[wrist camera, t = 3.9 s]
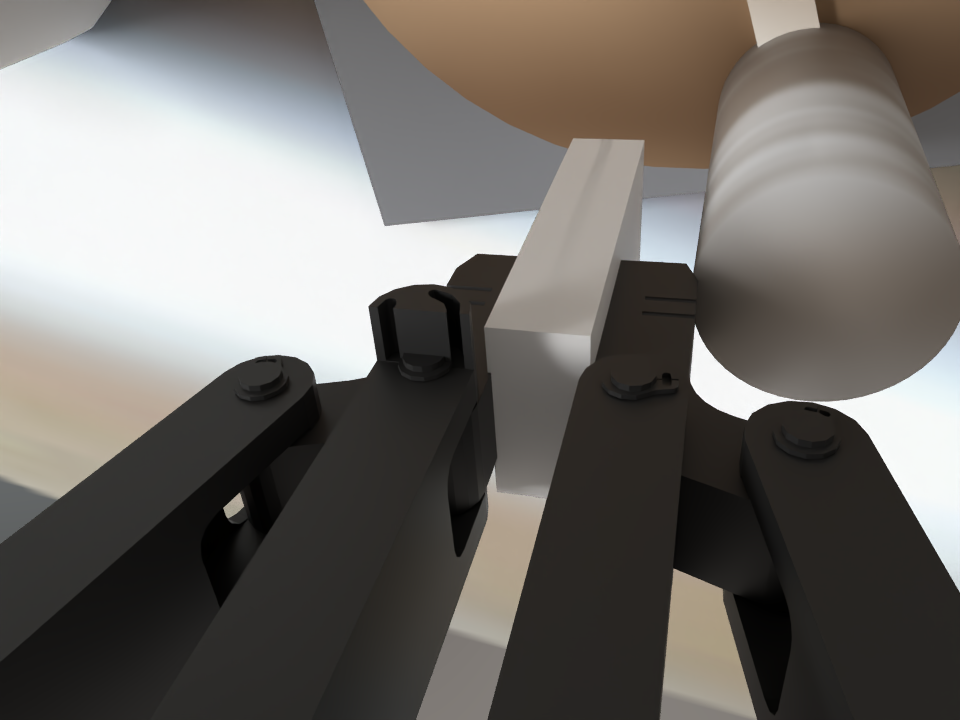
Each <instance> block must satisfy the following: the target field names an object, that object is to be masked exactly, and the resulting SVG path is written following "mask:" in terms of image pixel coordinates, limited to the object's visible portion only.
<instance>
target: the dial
mask: <svg viewBox="0 0 960 720" xmlns="http://www.w3.org/2000/svg"><path fill="white" fill-rule="evenodd" d="M363 1H364V2H365V3H366V4H367V6H368V7H369V8H370V9H371V11H372V12H373V13H374V14H375V15H376V17H377V18H378V19H379V20H380V22H381V23H382V24H383V25H384V27H385V28H386V29H387V30H388V31H389V32H390V33H391V34H392V35H393V36H394V37H395V38H396V39H397V40H398V41H399V42H400V43H401V44H402V45H403V46H404V47H405V48H406V49H407V50H408V51H409V52H410V53H411V54H412V55H413V56H414V57H415V58H416V59H417V60H418V61H419V62H420V63H421V64H422V65H423V66H424V67H425V68H427V69H428V70H429V71H430V72H432V73H433V74H434V75H436V76H437V77H438V78H440V79H441V80H442V81H443V82H445V83H446V84H447V85H449V86H450V87H451V88H452V89H454V90H455V91H456V92H458V93H459V94H460V95H462V96H463V97H464V98H465V99H467V100H469V101H470V102H472V103H474V104H475V105H477V106H479V107H480V108H482V109H484V110H485V111H487V112H489V113H490V114H492V115H494V116H495V117H497V118H499V119H501V120H502V121H504V122H506V123H507V124H509V125H511V126H513V127H516V128H518V129H520V130H523V131H525V132H527V133H529V134H532V135H534V136H536V137H539V138H541V139H543V140H545V141H548V142H550V143H552V144H555V145H558V146H561V147H565V148H569V146H570V144H571V142H572V140H573V138H580V139H619V140H645V142H644V166H650V167H669V168H694V169H709V172H708V178H707V185H706V192H705V198H704V205H703V212H702V219H701V225H700V232H699V239H698V246H697V252H696V259H695V266H694V273H693V274H694V275H695V277H696V278H697V280H698V292H697V304H696V316H695V325H696V327H697V330H698V332H699V335H700V337H701V339H702V340H703V342H704V344H705V345H706V347H707V349H708V350H709V351H710V353H711V354H712V355H713V356H714V358H715V359H716V360H717V361H718V362H719V363H720V364H721V365H722V366H723V367H724V368H725V369H727V370H728V371H729V372H730V373H732V374H733V375H734V376H736V377H737V378H739V379H740V380H742V381H744V382H746V383H747V384H749V385H751V386H753V387H755V388H758V389H760V390H762V391H764V392H767V393H771V394H774V395H777V396H780V397H785V398H790V399H795V400H804V401H839V400H847V399H852V398H858V397H863V396H866V395H869V394H873V393H876V392H879V391H881V390H884V389H886V388H889V387H891V386H894V385H896V384H897V383H899V382H901V381H903V380H905V379H907V378H909V377H910V376H911V375H913V374H914V373H916V372H917V371H919V370H920V369H922V368H923V367H924V366H925V365H926V364H927V363H929V362H930V361H931V360H932V359H933V358H934V357H935V356H936V355H937V354H938V353H939V352H940V351H941V349H942V348H943V347H944V346H945V345H946V343H947V342H948V340H949V339H950V337H951V336H952V334H953V333H954V331H955V329H956V327H957V325H958V323H959V321H960V246H959V243H958V240H957V238H956V235H955V233H954V230H953V227H952V225H951V222H950V219H949V217H948V214H947V211H946V209H945V206H944V204H943V201H942V198H941V196H940V193H939V190H938V188H937V185H936V182H935V180H934V177H933V175H932V172H931V169H930V167H929V164H928V161H927V159H926V156H925V154H924V151H923V148H922V146H921V143H920V140H919V138H918V135H917V132H916V130H915V127H914V125H913V122H912V119H911V117H913V116H915V115H917V114H920V113H922V112H924V111H926V110H929V109H931V108H932V107H934V106H936V105H938V104H939V103H941V102H943V101H945V100H946V99H948V98H950V97H952V96H953V95H955V94H957V93H958V92H960V0H363Z"/></svg>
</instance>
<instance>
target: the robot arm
mask: <svg viewBox="0 0 960 720" xmlns="http://www.w3.org/2000/svg"><path fill="white" fill-rule="evenodd" d="M644 142H645V140H619V139H580V138H573V140H572V142H571V144H570V146H569V148H568V150H567V152H566V154H565V157H564V159H563V161H562V163H561V165H560V167H559V169H558V171H557V174H556V176H555V178H554V180H553V182H552V184H551V186H550V188H549V191H548V193H547V195H546V197H545V199H544V201H543V203H542V205H541V208H540V210H539V212H538V214H537V216H536V218H535V220H534V222H533V225H532V227H531V229H530V231H529V233H528V235H527V237H526V239H525V242H524V244H523V246H522V248H521V250H520V252H519V254H518V256H506V255H489V254H477V255H475V256H474V257H472V258H471V259H469V260H468V261H466V262H465V263H463V264H462V265H460V266H459V267H457V268H456V270H455V272H454V273H453V275H452V277H451V279H450V280H449V282H448V284H447V287H446V286H440V285H435V284H429V285H412V286H407V287H403V288H398V289H395V290H392V291H390V292H388V293H386V294H384V295H382V296H379V297H378V298H377V299H376V300H375V301H374V302H373V303H372V304H370V305H369V306H368V307H369V313H370V319H371V325H372V331H373V337H374V343H375V349H376V355H377V362H376V363H375V365H374V366H373V368H372V370H371V371H370V373H369V374H368V376H367V377H366V378H361V379H356V380H350V381H341V382H332V383H323V384H316V380H315V376H314V372H313V371H312V369H311V368H310V366H309V365H308V363H306V362H304V361H302V360H300V359H298V358H296V357H289V356H281V355H275V356H262V357H257V358H255V359H252V360H249V361H245V362H242V363H240V364H238V365H236V366H234V367H233V368H231V369H229V370H228V371H226V372H224V373H223V374H222V375H220V376H219V377H218V378H216V379H215V380H214V381H212V382H211V383H210V384H209V385H207V386H206V387H205V388H203V389H202V390H201V391H199V392H198V393H197V394H195V395H194V396H193V397H192V398H190V399H189V400H188V401H186V402H185V403H184V404H182V405H181V406H180V407H179V408H177V409H176V410H175V411H173V412H172V413H171V414H169V415H168V416H167V417H165V418H164V419H163V420H162V421H160V422H159V423H158V424H156V425H155V426H154V427H152V428H151V429H150V430H149V431H147V432H146V433H145V434H143V435H142V436H141V437H139V438H138V439H137V440H135V441H134V442H133V443H132V444H130V445H129V446H128V447H126V448H125V449H124V450H122V451H121V452H120V453H119V454H117V455H116V456H115V457H113V458H112V459H111V460H109V461H108V462H107V463H105V464H104V465H103V466H102V467H100V468H99V469H98V470H96V471H95V472H94V473H92V474H91V475H90V476H89V477H87V478H86V479H85V480H83V481H82V482H81V483H79V484H78V485H77V486H75V487H74V488H73V489H72V490H70V491H69V492H68V493H66V494H65V495H64V496H62V497H61V498H60V499H59V500H57V501H56V502H55V503H53V504H52V505H51V506H50V507H48V508H47V509H45V510H44V511H43V512H42V513H40V514H39V515H38V516H36V517H35V518H34V519H33V520H31V521H30V522H29V523H27V524H26V525H25V526H24V527H22V528H21V529H19V530H18V531H17V532H16V533H14V534H13V535H12V536H10V537H9V538H8V539H6V540H5V541H4V542H2V543H1V544H0V720H416V718H417V715H418V712H419V709H420V707H421V704H422V701H423V698H424V695H425V693H426V690H427V687H428V684H429V681H430V678H431V676H432V673H433V670H434V667H435V664H436V661H437V659H438V656H439V653H440V650H441V647H442V645H443V642H444V639H445V636H446V634H447V631H448V628H449V625H450V622H451V620H452V617H453V614H454V611H455V608H456V606H457V603H458V600H459V597H460V594H461V592H462V589H463V586H464V583H465V580H466V577H467V575H468V572H469V569H470V566H471V563H472V561H473V558H474V555H475V552H476V549H477V547H478V544H479V541H480V538H481V535H482V533H483V530H484V527H485V524H486V521H487V517H488V497H487V485H488V482H489V479H490V476H491V474H492V471H493V468H494V465H495V473H496V486H497V492H502V493H510V494H518V495H525V496H533V497H538V498H546V499H547V500H546V504H545V508H544V511H543V515H542V519H541V522H540V526H539V530H538V534H537V537H536V541H535V545H534V549H533V552H532V556H531V560H530V563H529V567H528V571H527V575H526V578H525V582H524V586H523V589H522V593H521V597H520V601H519V604H518V608H517V612H516V616H515V619H514V623H513V627H512V630H511V634H510V638H509V642H508V645H507V649H506V653H505V657H504V660H503V664H502V668H501V671H500V675H499V679H498V683H497V686H496V691H495V694H494V697H493V701H492V705H491V709H490V712H489V716H488V720H660V713H661V701H662V691H663V679H664V668H665V657H666V646H667V634H668V623H669V612H670V601H671V590H672V580H673V568H674V569H677V570H679V571H682V572H684V573H686V574H689V575H691V576H693V577H696V578H698V579H701V580H703V581H705V582H708V583H710V584H712V585H715V586H717V587H720V588H722V589H723V601H724V605H725V608H726V612H727V615H728V619H729V622H730V626H731V629H732V633H733V636H734V640H735V643H736V647H737V650H738V654H739V657H740V661H741V664H742V668H743V671H744V675H745V678H746V682H747V685H748V689H749V692H750V696H751V699H752V703H753V706H754V710H755V713H756V717H757V720H960V592H959V590H958V589H957V587H956V585H955V583H954V582H953V580H952V578H951V577H950V575H949V573H948V571H947V570H946V568H945V566H944V564H943V563H942V561H941V559H940V558H939V556H938V554H937V552H936V551H935V549H934V547H933V546H932V544H931V542H930V540H929V539H928V537H927V535H926V533H925V532H924V530H923V528H922V527H921V525H920V523H919V521H918V520H917V518H916V516H915V514H914V513H913V511H912V509H911V508H910V506H909V504H908V502H907V501H906V499H905V497H904V495H903V494H902V492H901V490H900V489H899V487H898V485H897V483H896V482H895V480H894V478H893V477H892V475H891V473H890V471H889V470H888V468H887V466H886V464H885V463H884V461H883V459H882V458H881V456H880V454H879V452H878V451H877V449H876V447H875V445H874V444H873V442H872V440H871V439H870V437H869V435H868V434H867V433H866V432H865V430H864V429H863V428H862V427H861V426H860V425H859V424H858V423H857V422H856V421H855V420H854V419H852V418H850V417H849V416H847V415H845V414H843V413H841V412H840V411H838V410H836V409H833V408H830V407H826V406H823V405H819V404H816V403H812V402H797V401H786V402H780V403H775V404H769V405H767V406H765V407H763V408H761V409H759V410H757V411H756V412H754V413H752V415H751V416H750V418H749V419H748V421H747V420H744V419H741V418H738V417H735V416H732V415H729V414H727V413H724V412H722V411H719V410H717V409H716V408H714V407H712V406H711V405H709V404H708V403H706V402H705V401H704V400H703V399H702V398H700V397H699V396H698V395H697V394H696V392H695V391H694V389H693V387H692V385H691V383H690V373H691V362H692V351H693V339H694V327H695V316H696V304H697V292H698V280H697V278H696V277H695V275H694V274H693V273H692V271H691V270H690V268H689V267H688V266H687V264H682V263H665V262H647V261H640V240H641V216H642V191H643V167H644ZM239 493H240V494H241V497H242V501H243V504H244V507H243V508H242V509H241V510H240V511H239V512H238V513H237V514H235V515H234V516H232V517H230V518H229V519H228V518H227V517H226V515H225V512H224V509H223V507H225V506H226V505H227V504H228V503H229V502H230V501H231V500H232V499H233V498H234V497H235V496H236V495H237V494H239Z"/></svg>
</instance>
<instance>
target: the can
mask: <svg viewBox="0 0 960 720" xmlns="http://www.w3.org/2000/svg"><path fill="white" fill-rule="evenodd" d="M110 2H111V0H0V69H3V68H5V67H7V66H10V65H12V64H15V63H17V62H19V61H22V60H24V59H27V58H29V57H32V56H34V55H36V54H39V53H41V52H44V51H46V50H48V49H51V48H53V47H56V46H58V45H60V44H63V43H65V42H67V41H69V40H71V39H73V38H75V37H76V36H78V35H80V34H82V33H84V32H86V31H88V30H90V29H91V28H93V26H94V25H95V23H96V22H97V21H98V19H99V18H100V16H101V15H102V14H103V12H104V11H105V9H106V8H107V7H108V5H109V4H110Z"/></svg>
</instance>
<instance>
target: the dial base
mask: <svg viewBox="0 0 960 720" xmlns="http://www.w3.org/2000/svg"><path fill="white" fill-rule="evenodd" d="M314 2H315V5H316V8H317V12H318V15H319V18H320V21H321V24H322V28H323V31H324V34H325V37H326V40H327V43H328V47H329V50H330V53H331V56H332V59H333V63H334V66H335V69H336V72H337V75H338V78H339V82H340V85H341V88H342V91H343V94H344V98H345V101H346V104H347V107H348V110H349V114H350V117H351V120H352V123H353V126H354V129H355V133H356V136H357V139H358V142H359V145H360V149H361V152H362V155H363V158H364V161H365V165H366V168H367V171H368V174H369V177H370V180H371V184H372V187H373V190H374V193H375V196H376V200H377V203H378V206H379V209H380V212H381V216H382V219H383V222H384V225H385V226H390V225H399V224H408V223H418V222H427V221H437V220H446V219H455V218H465V217H474V216H484V215H493V214H503V213H512V212H521V211H531V210H540V208H541V205H542V203H543V201H544V199H545V197H546V195H547V193H548V191H549V188H550V186H551V184H552V182H553V180H554V178H555V176H556V174H557V171H558V169H559V167H560V165H561V163H562V161H563V159H564V157H565V154H566V152H567V150H568V148H565V147H561V146H558V145H555V144H552V143H550V142H548V141H545V140H543V139H541V138H539V137H536V136H534V135H532V134H529V133H527V132H525V131H523V130H520V129H518V128H516V127H513V126H511V125H509V124H507V123H506V122H504V121H502V120H501V119H499V118H497V117H495V116H494V115H492V114H490V113H489V112H487V111H485V110H484V109H482V108H480V107H479V106H477V105H475V104H474V103H472V102H470V101H469V100H467V99H465V98H464V97H463V96H462V95H460V94H459V93H458V92H456V91H455V90H454V89H452V88H451V87H450V86H449V85H447V84H446V83H445V82H443V81H442V80H441V79H440V78H438V77H437V76H436V75H434V74H433V73H432V72H430V71H429V70H428V69H427V68H425V67H424V66H423V65H422V64H421V63H420V62H419V61H418V60H417V59H416V58H415V57H414V56H413V55H412V54H411V53H410V52H409V51H408V50H407V49H406V48H405V47H404V46H403V45H402V44H401V43H400V42H399V41H398V40H397V39H396V38H395V37H394V36H393V35H392V34H391V33H390V32H389V31H388V30H387V29H386V28H385V27H384V25H383V24H382V23H381V22H380V20H379V19H378V18H377V17H376V15H375V14H374V13H373V12H372V11H371V9H370V8H369V7H368V6H367V4H366V3H365V2H364V1H363V0H314ZM911 119H912V122H913V125H914V127H915V130H916V132H917V135H918V138H919V140H920V143H921V146H922V148H923V151H924V154H925V156H926V159H927V161H928V164H929V167H930V168H935V167H945V166H954V165H960V92H958V93H957V94H955V95H953V96H952V97H950V98H948V99H946V100H945V101H943V102H941V103H939V104H938V105H936V106H934V107H932V108H931V109H929V110H926V111H924V112H922V113H920V114H917V115H915V116H913V117H911ZM708 172H709V169H694V168H669V167H650V166H644V167H643V191H642V199H644V198H653V197H663V196H672V195H681V194H691V193H700V192H706V185H707V178H708Z"/></svg>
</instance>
